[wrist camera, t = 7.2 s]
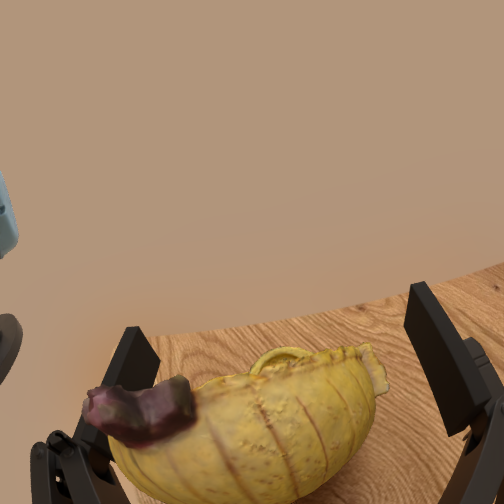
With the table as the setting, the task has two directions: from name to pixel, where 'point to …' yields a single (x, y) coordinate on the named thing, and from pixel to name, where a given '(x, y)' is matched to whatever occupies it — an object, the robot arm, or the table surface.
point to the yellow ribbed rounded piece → (244, 427)
